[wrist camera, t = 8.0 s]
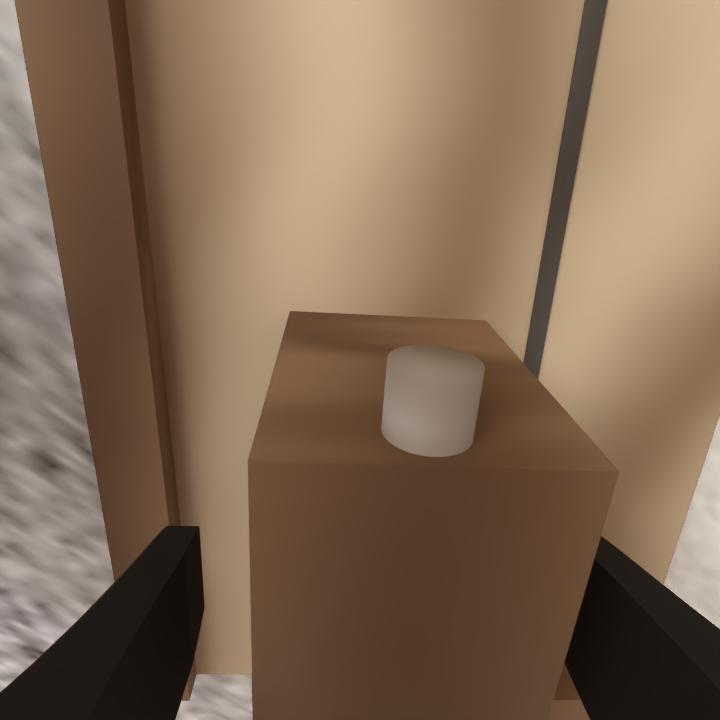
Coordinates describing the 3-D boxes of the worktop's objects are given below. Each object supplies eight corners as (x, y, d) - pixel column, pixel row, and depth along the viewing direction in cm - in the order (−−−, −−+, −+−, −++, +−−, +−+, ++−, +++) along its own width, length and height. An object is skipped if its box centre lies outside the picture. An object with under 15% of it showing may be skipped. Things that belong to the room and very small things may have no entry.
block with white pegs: (285, 615, 15) (256, 894, 9) (290, 265, 11) (246, 380, 6) (438, 617, 15) (498, 888, 10) (492, 276, 11) (641, 395, 6)
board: (157, 639, 17) (119, 745, 14) (-62, -923, 7) (-387, -1800, 4) (615, 635, 17) (673, 735, 14) (1037, -753, 7) (1506, -1355, 4)
